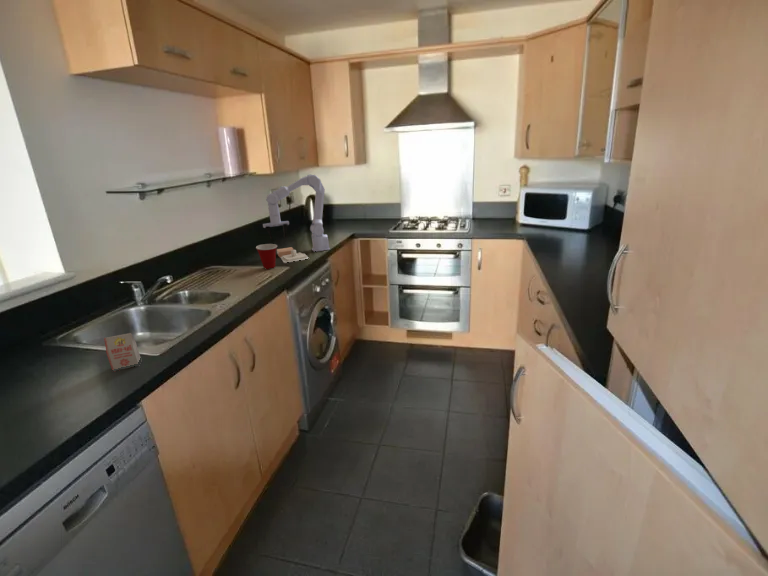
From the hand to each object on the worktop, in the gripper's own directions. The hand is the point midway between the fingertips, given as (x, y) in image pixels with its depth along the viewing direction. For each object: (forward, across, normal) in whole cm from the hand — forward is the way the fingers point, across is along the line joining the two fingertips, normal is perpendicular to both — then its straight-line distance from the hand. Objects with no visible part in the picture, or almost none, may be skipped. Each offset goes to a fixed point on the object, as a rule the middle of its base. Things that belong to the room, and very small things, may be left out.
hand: (278, 238), depth 233 cm
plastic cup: (+11, +9, +24) cm, 28 cm away
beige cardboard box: (+11, +60, +111) cm, 127 cm away
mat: (+10, -6, +12) cm, 17 cm away
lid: (+10, -6, +11) cm, 16 cm away
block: (+10, -3, -1) cm, 11 cm away
